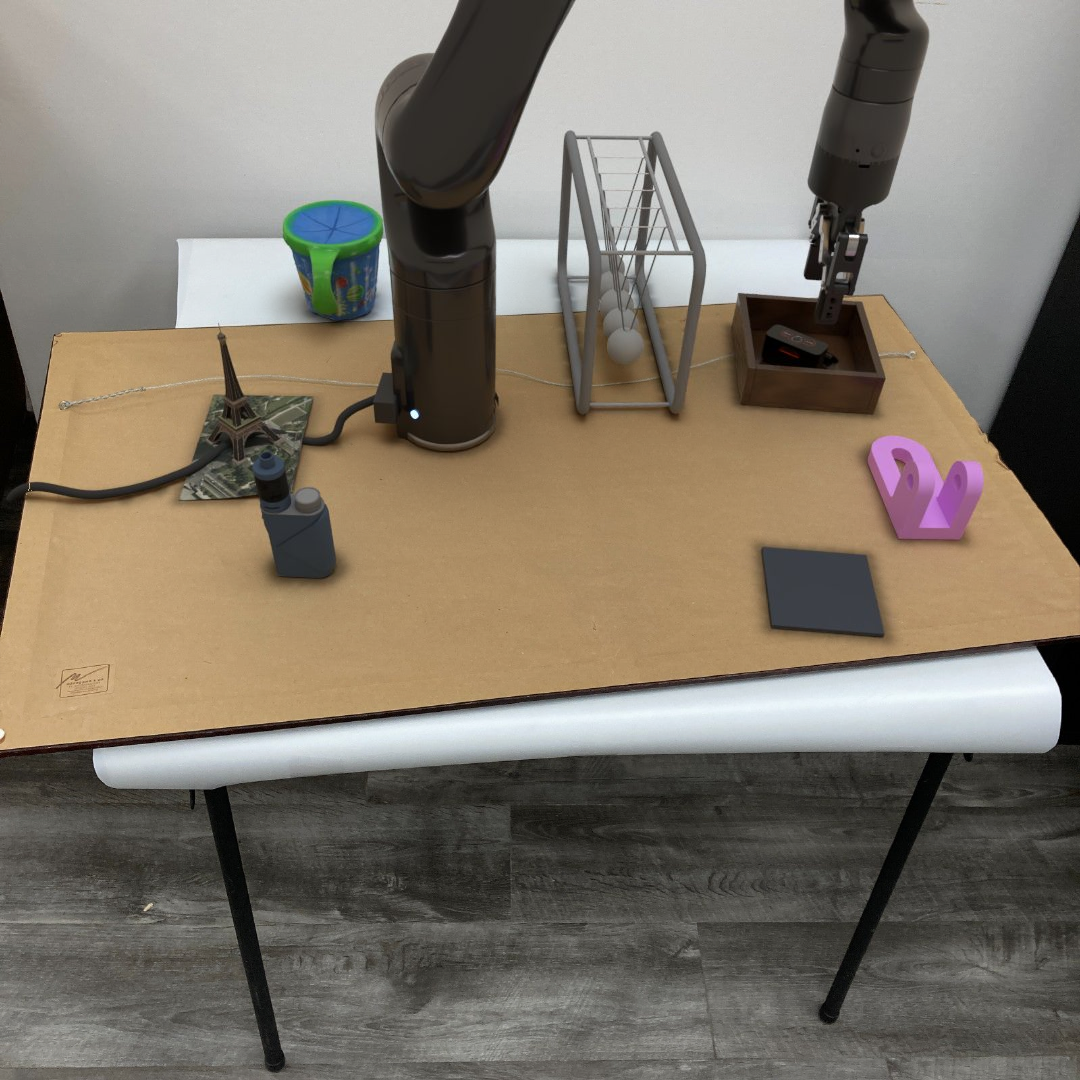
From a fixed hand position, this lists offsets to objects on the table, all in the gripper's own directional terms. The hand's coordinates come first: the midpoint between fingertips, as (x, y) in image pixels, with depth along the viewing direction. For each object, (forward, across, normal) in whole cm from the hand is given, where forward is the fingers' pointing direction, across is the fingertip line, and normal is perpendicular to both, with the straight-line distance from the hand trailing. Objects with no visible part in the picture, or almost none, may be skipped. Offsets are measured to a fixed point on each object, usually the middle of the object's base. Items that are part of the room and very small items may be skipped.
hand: (818, 300), depth 99 cm
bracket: (+9, +19, +8) cm, 22 cm away
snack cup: (+8, -6, -51) cm, 52 cm away
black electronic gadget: (+8, 0, 0) cm, 8 cm away
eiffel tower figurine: (+8, +20, -54) cm, 58 cm away
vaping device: (+8, +35, -45) cm, 58 cm away
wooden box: (+8, 0, 0) cm, 8 cm away
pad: (+8, +33, -2) cm, 34 cm away
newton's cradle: (+8, -3, -20) cm, 22 cm away
